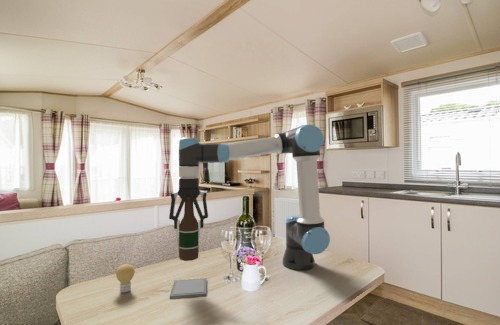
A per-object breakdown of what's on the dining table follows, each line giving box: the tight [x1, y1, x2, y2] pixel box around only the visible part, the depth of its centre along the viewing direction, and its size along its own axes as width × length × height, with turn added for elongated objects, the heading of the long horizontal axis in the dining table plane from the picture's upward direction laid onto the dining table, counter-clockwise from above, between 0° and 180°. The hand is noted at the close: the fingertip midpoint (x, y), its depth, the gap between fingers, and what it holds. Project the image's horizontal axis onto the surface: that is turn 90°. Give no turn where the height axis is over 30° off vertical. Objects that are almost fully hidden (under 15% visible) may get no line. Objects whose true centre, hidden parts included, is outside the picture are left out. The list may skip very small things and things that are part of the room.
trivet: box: [169, 277, 208, 299], centre depth 102 cm, size 13×13×1 cm
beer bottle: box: [178, 196, 200, 262], centre depth 102 cm, size 8×8×24 cm
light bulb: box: [115, 263, 136, 294], centre depth 100 cm, size 6×6×10 cm
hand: (189, 236), depth 102 cm, fingers closed on beer bottle, 7 cm apart
